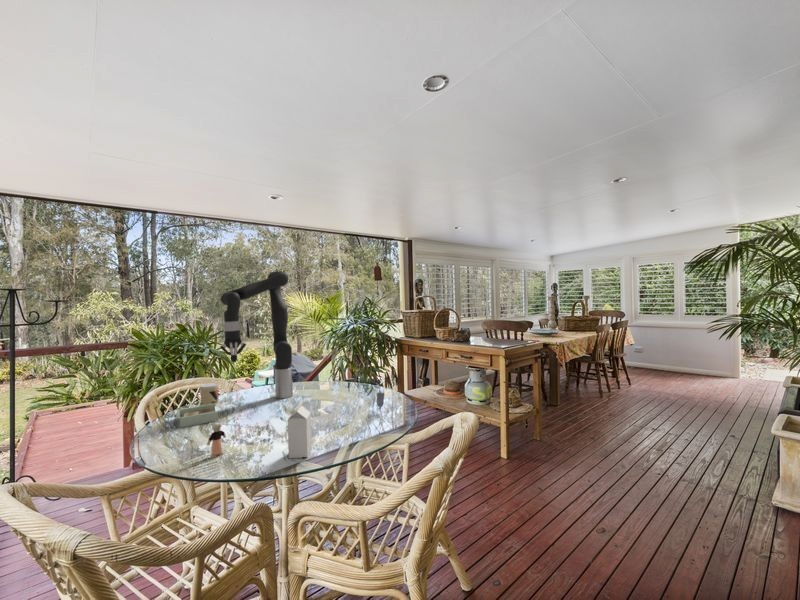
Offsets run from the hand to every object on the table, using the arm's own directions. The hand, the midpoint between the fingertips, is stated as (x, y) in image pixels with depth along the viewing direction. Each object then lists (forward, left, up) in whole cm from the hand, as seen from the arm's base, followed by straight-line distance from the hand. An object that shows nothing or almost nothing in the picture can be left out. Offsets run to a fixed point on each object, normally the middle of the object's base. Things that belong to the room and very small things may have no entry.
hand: (234, 361), depth 188 cm
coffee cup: (+11, -17, -26) cm, 33 cm away
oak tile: (+20, +1, -27) cm, 34 cm away
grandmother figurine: (+13, +52, -26) cm, 60 cm away
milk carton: (-14, +70, -26) cm, 76 cm away
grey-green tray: (+18, +3, -26) cm, 32 cm away
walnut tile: (+14, 0, -27) cm, 30 cm away
